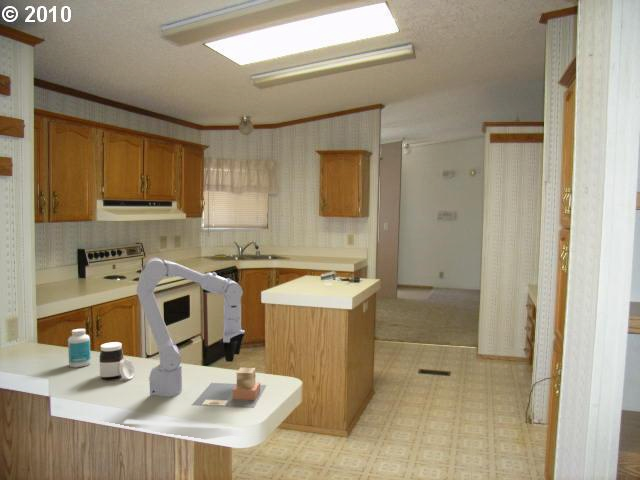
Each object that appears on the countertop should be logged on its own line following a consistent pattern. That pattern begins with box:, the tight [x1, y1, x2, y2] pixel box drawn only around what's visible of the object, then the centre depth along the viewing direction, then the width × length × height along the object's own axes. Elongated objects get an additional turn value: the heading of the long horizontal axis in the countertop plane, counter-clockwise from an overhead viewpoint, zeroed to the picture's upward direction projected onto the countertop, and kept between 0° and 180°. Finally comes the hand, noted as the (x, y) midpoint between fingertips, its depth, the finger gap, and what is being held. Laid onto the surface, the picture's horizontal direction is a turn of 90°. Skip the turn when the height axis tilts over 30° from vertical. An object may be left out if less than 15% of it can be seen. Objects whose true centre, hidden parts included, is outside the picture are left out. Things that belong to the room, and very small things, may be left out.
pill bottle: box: [67, 328, 92, 368], centre depth 183 cm, size 8×7×14 cm
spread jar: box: [98, 341, 135, 382], centre depth 170 cm, size 12×11×12 cm
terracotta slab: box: [233, 381, 261, 400], centre depth 152 cm, size 7×7×3 cm
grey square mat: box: [191, 382, 268, 409], centre depth 153 cm, size 19×18×1 cm
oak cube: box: [236, 367, 256, 389], centre depth 152 cm, size 5×5×5 cm
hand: (232, 357), depth 161 cm, fingers open, 7 cm apart
